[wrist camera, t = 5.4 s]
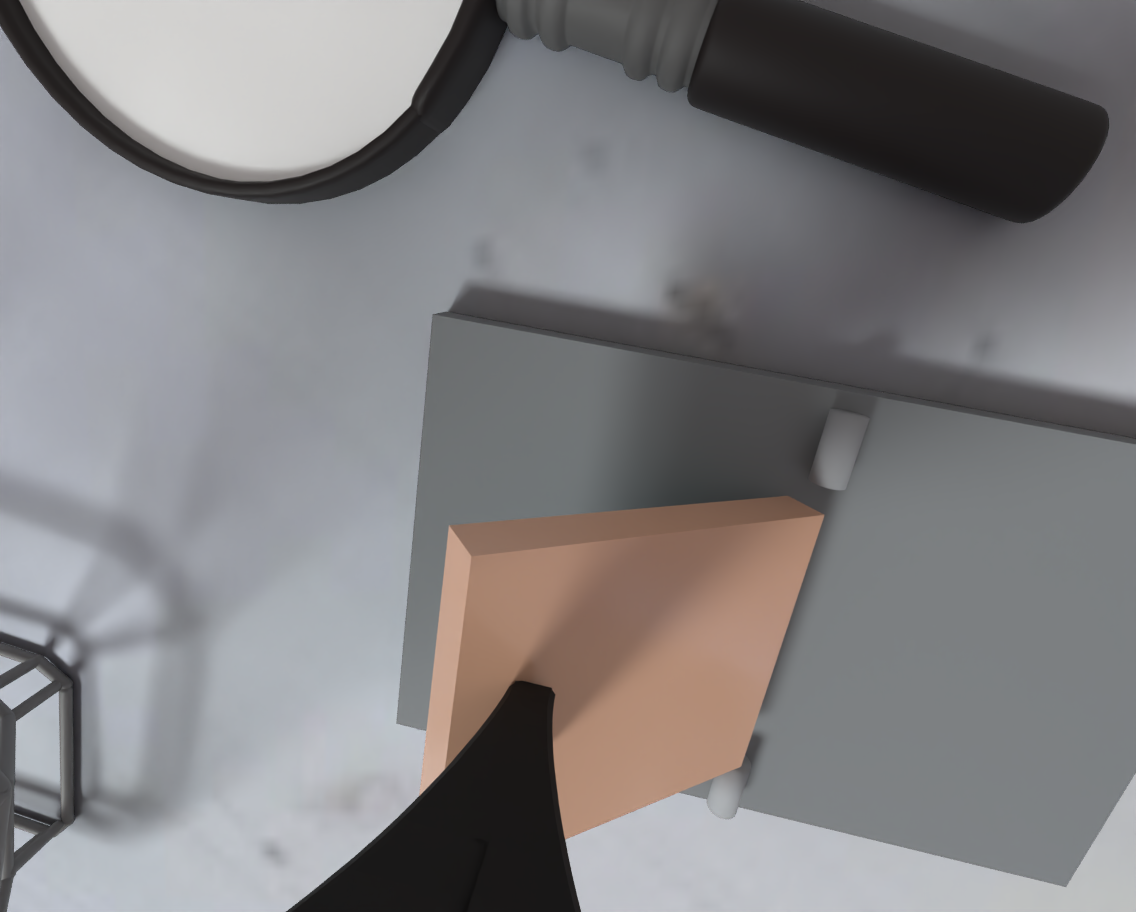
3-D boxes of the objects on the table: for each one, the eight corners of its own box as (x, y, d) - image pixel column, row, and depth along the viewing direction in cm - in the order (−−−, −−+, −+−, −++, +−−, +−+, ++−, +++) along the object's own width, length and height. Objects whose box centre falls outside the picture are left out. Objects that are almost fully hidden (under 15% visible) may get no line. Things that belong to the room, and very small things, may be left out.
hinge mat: (1267, 462, 13) (1364, 493, 11) (1043, 852, 17) (1089, 921, 15) (446, 311, 15) (417, 317, 13) (409, 700, 18) (383, 746, 17)
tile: (471, 556, 9) (447, 524, 9) (429, 895, 11) (412, 844, 12) (825, 515, 13) (786, 494, 13) (740, 766, 15) (712, 736, 16)
